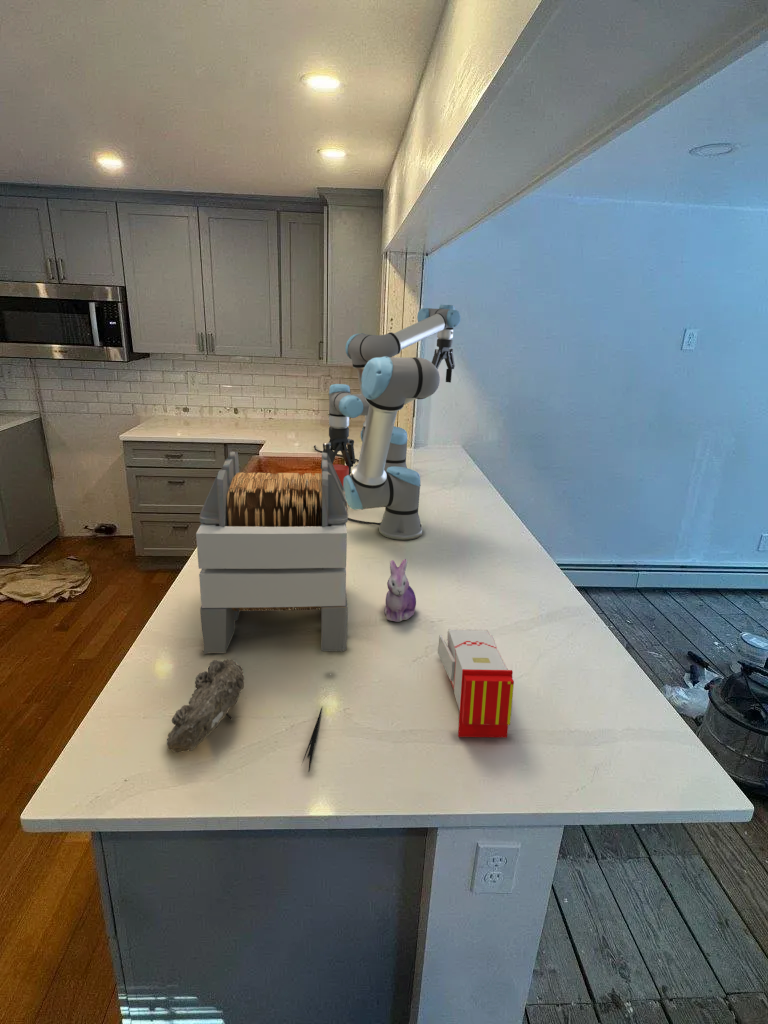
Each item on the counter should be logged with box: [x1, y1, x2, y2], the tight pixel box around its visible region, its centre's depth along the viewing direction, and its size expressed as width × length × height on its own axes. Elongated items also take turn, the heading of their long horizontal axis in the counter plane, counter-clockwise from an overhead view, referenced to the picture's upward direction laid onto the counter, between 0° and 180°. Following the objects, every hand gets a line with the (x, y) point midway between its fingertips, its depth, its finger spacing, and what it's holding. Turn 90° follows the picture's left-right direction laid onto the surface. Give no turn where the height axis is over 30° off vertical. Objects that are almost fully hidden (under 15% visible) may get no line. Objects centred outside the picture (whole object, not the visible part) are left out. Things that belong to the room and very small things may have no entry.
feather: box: [301, 673, 332, 771], centre depth 108 cm, size 2×28×2 cm
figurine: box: [384, 558, 417, 623], centre depth 145 cm, size 9×10×15 cm
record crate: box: [195, 450, 349, 655], centre depth 137 cm, size 34×33×41 cm
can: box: [333, 463, 349, 488], centre depth 220 cm, size 8×8×12 cm
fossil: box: [166, 658, 245, 754], centre depth 106 cm, size 22×10×15 cm
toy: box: [437, 628, 515, 738], centre depth 117 cm, size 12×13×30 cm
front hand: (337, 484), depth 220 cm, fingers closed on can, 8 cm apart
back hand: (441, 383), depth 281 cm, fingers open, 13 cm apart
